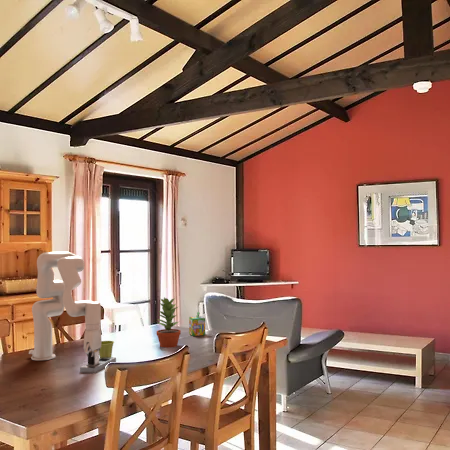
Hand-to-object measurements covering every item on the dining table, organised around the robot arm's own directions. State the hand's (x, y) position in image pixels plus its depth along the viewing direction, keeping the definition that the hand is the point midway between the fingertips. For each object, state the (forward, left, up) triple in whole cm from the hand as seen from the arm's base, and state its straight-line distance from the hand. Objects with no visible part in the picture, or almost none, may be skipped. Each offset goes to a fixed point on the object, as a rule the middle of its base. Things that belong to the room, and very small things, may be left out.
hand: (93, 363), depth 259 cm
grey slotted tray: (0, +5, -3) cm, 6 cm away
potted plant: (+16, +60, -3) cm, 62 cm away
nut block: (0, 0, -2) cm, 2 cm away
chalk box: (+22, +96, -3) cm, 99 cm away
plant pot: (-6, +23, -3) cm, 24 cm away
